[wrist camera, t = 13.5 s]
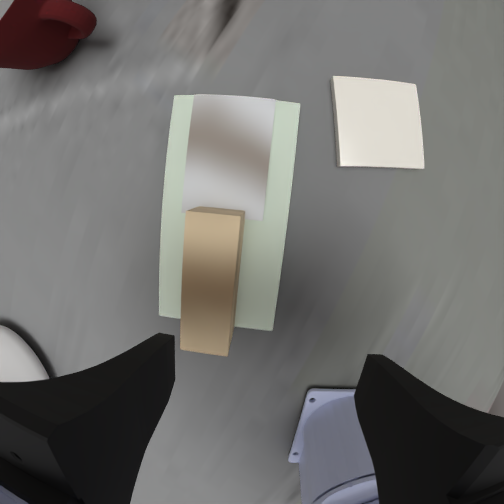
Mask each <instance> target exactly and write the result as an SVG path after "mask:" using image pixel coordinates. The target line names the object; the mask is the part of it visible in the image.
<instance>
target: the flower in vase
mask: <svg viewBox="0 0 504 504" xmlns="http://www.w3.org/2000/svg"><path fill="white" fill-rule="evenodd" d="M45 379H49V376H48V374H47V372H46V370H45V368H44V366H43V365H42V363H41V362H40V360H39V358H38V357H37V356H36V354H35V353H34V352H33V350H32V349H31V348H30V347H29V345H28V344H27V343H26V342H25V341H24V340H23V339H22V338H21V337H20V336H19V335H18V334H16V333H15V332H14V331H12V330H11V329H9V328H7V327H5V326H2V325H0V382H27V381H37V380H45Z"/></svg>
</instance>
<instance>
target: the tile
mask: <svg viewBox="0 0 504 504" xmlns="http://www.w3.org/2000/svg"><path fill="white" fill-rule="evenodd" d="M330 82H331V91H332V101H333V112H334V124H335V138H336V154H337V167H376V168H402V169H424V154H423V140H422V129H421V119H420V110H419V103H418V95H417V89H416V84H410V83H403V82H396V81H388V80H379V79H369V78H358V77H343V76H333V77H332V79H331V80H330Z"/></svg>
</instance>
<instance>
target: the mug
mask: <svg viewBox="0 0 504 504" xmlns="http://www.w3.org/2000/svg"><path fill="white" fill-rule="evenodd" d="M96 22H97V20H96V17H95V15H94V14H93V13H92V12H91V11H90V10H88V9H87V8H85V7H84V6H82V5H79V4H77V3H74V2H72V0H0V68H12V69H24V70H31V69H38V68H42V67H45V66H49V65H52V64H56V63H58V62H60V61H62V60H64V59H65V58H66V57H67V56H69V55H70V53H71V52H72V51H73V50H74V48H75V47H76V45H77V43H78V41H79V39H84V38H86V37H88V36H89V35H90V34H91V33H92V31H93V30H94V28H95V26H96Z"/></svg>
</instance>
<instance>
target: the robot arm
mask: <svg viewBox="0 0 504 504" xmlns="http://www.w3.org/2000/svg"><path fill="white" fill-rule="evenodd" d="M174 382H175V336H174V335H168V334H162V333H158V334H156V335H154V336H152V337H150V338H149V339H147V340H145V341H143V342H142V343H140V344H138V345H137V346H135V347H133V348H131V349H129V350H128V351H126V352H124V353H122V354H120V355H118V356H116V357H114V358H112V359H110V360H108V361H106V362H104V363H101V364H99V365H96V366H94V367H91V368H88V369H86V370H83V371H80V372H76V373H73V374H69V375H64V376H60V377H56V378H51V379H45V380H37V381H27V382H0V504H130V501H131V497H132V493H133V489H134V486H135V482H136V479H137V475H138V472H139V469H140V465H141V462H142V459H143V456H144V453H145V450H146V448H147V445H148V443H149V441H150V439H151V437H152V435H153V432H154V430H155V428H156V426H157V424H158V422H159V420H160V418H161V416H162V414H163V412H164V409H165V407H166V405H167V403H168V401H169V398H170V395H171V392H172V388H173V385H174ZM311 398H314V399H313V400H310V399H311ZM295 452H296V453H295ZM288 461H289V462H292V463H299V473H300V485H301V498H302V504H504V417H500V416H495V415H491V414H488V413H485V412H481V411H479V410H476V409H473V408H470V407H468V406H465V405H463V404H461V403H458V402H456V401H454V400H452V399H450V398H448V397H446V396H444V395H443V394H441V393H439V392H437V391H436V390H434V389H433V388H431V387H429V386H428V385H426V384H425V383H423V382H422V381H420V380H419V379H417V378H416V377H414V376H413V375H412V374H410V373H409V372H407V371H406V370H404V369H403V368H402V367H400V366H399V365H397V364H396V363H395V362H393V361H392V360H390V359H389V358H387V357H385V356H384V355H380V354H368V355H367V358H366V361H365V364H364V367H363V370H362V373H361V376H360V379H359V382H358V385H357V388H356V389H318V388H313V389H310V390H309V391H308V392H307V395H306V398H305V402H304V406H303V409H302V413H301V416H300V420H299V423H298V427H297V430H296V434H295V437H294V440H293V444H292V447H291V450H290V453H289V457H288Z"/></svg>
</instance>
